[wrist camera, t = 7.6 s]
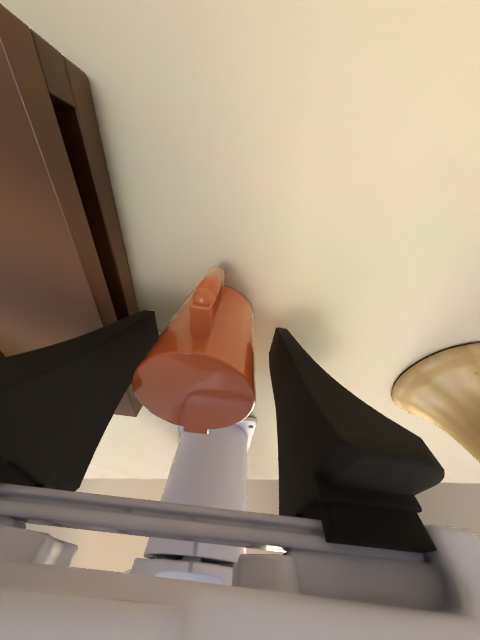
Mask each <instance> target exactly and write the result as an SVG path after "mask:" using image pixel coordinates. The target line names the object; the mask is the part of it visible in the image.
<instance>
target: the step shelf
mask: <svg viewBox="0 0 480 640" xmlns="http://www.w3.org/2000/svg"><path fill="white" fill-rule="evenodd" d="M137 312H138V309H137V304H136V300H135V295H134V291H133V286H132V281H131V277H130V272H129V268H128V263H127V259H126V254H125V250H124V245H123V240H122V236H121V231H120V227H119V222H118V218H117V213H116V208H115V204H114V199H113V195H112V190H111V186H110V181H109V176H108V172H107V167H106V163H105V158H104V154H103V149H102V144H101V140H100V135H99V131H98V126H97V122H96V117H95V113H94V108H93V103H92V99H91V94H90V90H89V85H88V81H87V77H86V74H85V73H84V72H83V71H81V70H80V69H79V68H78V67H77V66H75V65H74V64H73V63H72V62H70V61H69V60H68V59H67V58H65V57H64V56H63V55H62V54H61V53H60V52H59V51H57V50H56V49H55V48H54V47H53V46H51V45H50V44H49V43H48V42H46V41H45V40H44V39H43V38H41V37H40V36H39V35H38V34H37V33H35V32H34V31H33V30H32V29H30V28H29V27H28V26H27V25H26V24H25V23H23V22H22V21H21V20H20V19H18V18H17V17H16V16H15V15H13V14H12V13H11V12H10V11H9V10H7V9H6V8H5V7H4V6H2V5H1V4H0V350H1V352H2V353H3V354H4V355H5V357H8V356H12V355H17V354H21V353H25V352H28V351H32V350H36V349H39V348H43V347H47V346H50V345H54V344H57V343H60V342H63V341H67V340H70V339H73V338H76V337H78V336H81V335H84V334H87V333H89V332H92V331H94V330H97V329H99V328H102V327H104V326H107V325H109V324H112V323H114V322H116V321H119V320H121V319H123V318H126V317H128V316H130V315H133V314H135V313H137ZM142 406H143V405H142V404H141V402H140V401H139V400H138V398H137V397H136V395H135V393H134V390H133V386H132V383H131V384H130V386H129V387H128V389H127V391H126V392H125V394H124V396H123V397H122V399H121V401H120V403H119V405H118V407H117V408H116V410H115V412H114V414H117V415H125V416H133V417H137V415H138V413H139V411H140V410H141V408H142Z"/></svg>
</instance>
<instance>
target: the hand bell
mask: <svg viewBox="0 0 480 640" xmlns="http://www.w3.org/2000/svg"><path fill="white" fill-rule="evenodd" d="M392 398H393V400H394V402H395V404H396V405H397V406H399V407H400V408H401V409H403V410H405V411H406V412H408V413H410V414H412V415H415V416H419V417H422V418H424V419H426V420H428V421H430V422H432V423H433V424H435V425H436V426H438V427H439V428H441V429H442V430H443V431H445V432H446V433H447V434H449V435H450V436H451V437H452V438H454V439H455V440H456V441H457V442H458V443H459V444H460V445H462V446H463V447H464V448H465V449H466V450H467V451H468V452H469V453H470V454H471V455H472V456H473V457H474V458H475V459H476V460H477V461H478V462H479V463H480V343H475V344H468V345H464V346H459V347H455V348H450V349H447V350H445V351H442V352H439V353H436V354H434V355H432V356H430V357H428V358H426V359H424V360H422V361H420V362H419V363H417V364H415V365H414V366H412V367H411V368H410V369H408V370H407V371H406V372H405V373H403V374H402V375H401V377H400V378H399V379H398V380H397V381H396V383H395V384H394V387H393V390H392Z"/></svg>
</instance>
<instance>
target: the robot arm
mask: <svg viewBox="0 0 480 640" xmlns="http://www.w3.org/2000/svg"><path fill="white" fill-rule="evenodd" d="M158 338H159V336H158V330H157V323H156V317H155V311H147V310H143V311H140V312H137V313H135V314H133V315H130V316H128V317H126V318H123V319H121V320H119V321H116V322H114V323H112V324H109V325H107V326H104V327H102V328H99V329H97V330H94V331H92V332H89V333H87V334H84V335H81V336H78V337H76V338H73V339H70V340H67V341H63V342H60V343H57V344H54V345H50V346H47V347H43V348H39V349H36V350H32V351H28V352H25V353H21V354H17V355H12V356H8V357H4V358H0V640H480V540H479V538H478V537H477V535H476V534H475V532H473V531H472V530H470V529H468V528H460V527H451V526H442V525H423V523H422V521H421V520H420V518H419V516H418V514H417V512H418V513H419V512H421V511H422V509H421V506H420V505H419V503H418V501H417V499H416V498H415V496H414V495H416V494H419V493H420V492H423V491H425V490H427V489H429V488H431V487H433V486H435V485H437V484H438V483H440V482H441V481H442V480H443V478H444V469H443V468H442V466H441V465H440V463H439V462H438V461H437V459H436V458H435V457H434V455H433V454H432V452H431V451H430V450H429V448H428V447H427V446H426V444H425V443H424V442H423V440H422V439H421V438H420V437H418V436H417V435H415V434H413V433H412V432H410V431H409V430H407V429H405V428H404V427H402V426H400V425H399V424H397V423H395V422H394V421H392V420H390V419H389V418H387V417H385V416H384V415H382V414H381V413H379V412H378V411H376V410H375V409H373V408H372V407H370V406H369V405H367V404H366V403H365V402H363V401H362V400H360V399H359V398H357V397H356V396H355V395H353V394H352V393H351V392H350V391H348V390H347V389H346V388H344V387H343V386H342V385H341V384H339V383H338V382H337V381H336V380H335V379H333V378H332V377H331V376H330V375H329V374H328V373H327V372H325V371H324V370H323V369H322V368H321V367H320V366H319V365H318V364H317V363H316V362H315V361H314V360H313V359H312V358H311V357H310V356H309V355H308V354H307V352H306V351H305V350H304V349H303V348H302V347H301V346H300V344H299V343H298V342H297V341H296V340H295V338H294V337H293V336H292V335H291V334H290V332H289V331H288V330H287V329H283V328H276V330H275V334H274V337H273V341H272V345H271V348H270V352H269V368H270V375H271V381H272V387H273V393H274V400H275V407H276V418H277V436H278V462H279V515H273V514H264V513H255V512H247V511H246V505H247V452H248V449H249V446H250V442H251V439H252V436H253V433H254V430H255V427H256V419H255V418H251V417H247V418H245V419H244V420H243V421H241V422H239V423H237V424H235V425H233V426H229V427H226V428H221V429H210V430H209V433H208V434H199V433H191V432H185V431H184V427H183V426H179V425H178V426H179V434H180V441H179V444H178V447H177V450H176V454H175V457H174V460H173V463H172V466H171V470H170V473H169V476H168V479H167V483H166V486H165V489H164V493H163V495H162V499H161V502H160V501H151V500H143V499H133V498H125V497H116V496H108V495H99V494H91V493H82V492H75V491H76V490H77V489H78V488H79V487H80V485H81V482H82V480H83V478H84V475H85V473H86V471H87V468H88V466H89V464H90V462H91V459H92V457H93V455H94V453H95V450H96V448H97V446H98V444H99V442H100V440H101V438H102V436H103V434H104V432H105V430H106V428H107V426H108V424H109V422H110V420H111V418H112V416H113V414H114V412H115V410H116V408H117V407H118V405H119V403H120V401H121V399H122V397H123V396H124V394H125V392H126V391H127V389H128V387H129V386H130V384H131V383H132V379H133V374H134V372H135V370H136V368H137V367H138V365H139V364H140V362H141V361H142V360H143V358H144V357H145V356H146V354H147V353H148V351H149V350H150V349H151V347H152V346H153V345H154V343H155V342H156V340H157V339H158ZM25 523H30V524H39V525H48V526H57V527H66V528H75V529H83V530H92V531H102V532H110V533H119V534H128V535H137V536H146V537H149V540H148V543H147V547H146V550H145V553H144V557H146V558H149V559H143V558H136V559H135V561H134V564H133V566H132V569H130V570H127V571H126V572H125V573H121V572H113V571H103V570H93V569H85V568H76V567H69V566H70V564H71V562H72V560H73V558H74V556H75V554H76V552H77V550H78V546H77V545H75V544H71V543H68V542H64V541H62V540H59V539H57V538H54V537H52V536H51V535H49V534H48V533H43V532H37V531H32V530H27V529H26V525H25ZM246 548H254V549H262V550H271V551H280V552H285V553H284V554H283V555H277V554H246Z"/></svg>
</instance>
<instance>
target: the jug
mask: <svg viewBox="0 0 480 640" xmlns="http://www.w3.org/2000/svg"><path fill="white" fill-rule="evenodd" d="M224 281H225V273H224V271H223V269H222V268H220V267H216V266H215V267H212V268H211V269H210V270H209V271H208V273H207V274H206V276H205V277H204V278H203V280H202V281H201V283H200V284H199V286H198V287H197V289H196V290H195V291H194V292H192V293H191V294H190V295H189V296H188V298H187V299H186V300H185V302H184V303H183V305H182V306H181V307H180V309H179V310H178V311H177V313H176V314H175V316H174V317H173V318H172V320H171V321H170V322H169V324H168V325H167V327H166V328H165V329H164V331H163V332H162V334H161V335H160V336H159V338H158V339H157V340H156V342H155V343H154V345H153V346H152V347H151V349H150V350H149V351H148V353H147V354H146V356H145V357H144V358H143V360H142V361H141V362H140V364H139V365H138V367H137V368H136V370H135V372H134V374H133V379H132V386H133V390H134V393H135V395H136V397H137V398H138V400H139V401H140V402H141V404H142V405H143V406H144V407H145V408H146V409H148V410H149V411H150V412H151V413H153V414H154V415H156V416H158V417H160V418H161V419H163V420H166V421H168V422H170V423H173V424H176V425H179V426H183V427H184V431H185V432H191V433H199V434H208V433H209V430H210V429H221V428H226V427H229V426H233V425H235V424H237V423H239V422H241V421H243V420H244V419H245V418H247V417H248V416H249V414H250V413H251V412H252V410H253V408H254V405H255V402H256V381H255V332H254V312H253V309H252V307H251V305H250V303H249V302H248V300H247V299H246V298H245V297H244V296H243V295H242V294H241V293H239V292H238V291H236V290H234V289H232V288H230V287H227V286H224Z"/></svg>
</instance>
